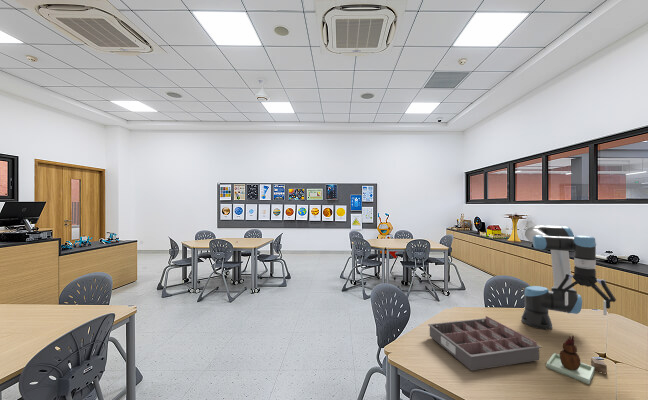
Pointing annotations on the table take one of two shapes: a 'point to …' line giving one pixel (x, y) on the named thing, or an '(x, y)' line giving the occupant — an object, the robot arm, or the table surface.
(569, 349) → the wooden figurine
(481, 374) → the table surface
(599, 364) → the walnut cube
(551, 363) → the green tray
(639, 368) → the table surface
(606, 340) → the table surface
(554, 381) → the table surface
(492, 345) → the organizer tray
